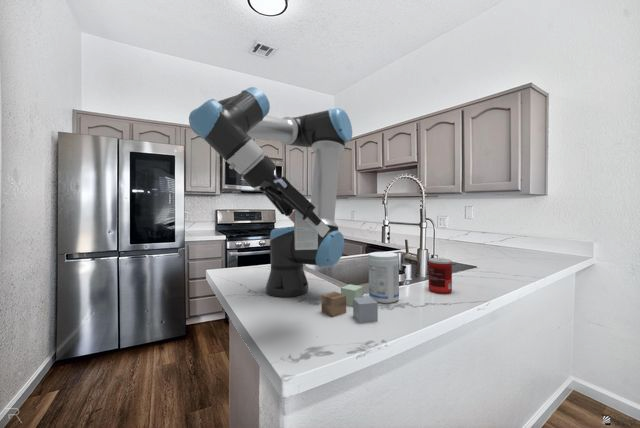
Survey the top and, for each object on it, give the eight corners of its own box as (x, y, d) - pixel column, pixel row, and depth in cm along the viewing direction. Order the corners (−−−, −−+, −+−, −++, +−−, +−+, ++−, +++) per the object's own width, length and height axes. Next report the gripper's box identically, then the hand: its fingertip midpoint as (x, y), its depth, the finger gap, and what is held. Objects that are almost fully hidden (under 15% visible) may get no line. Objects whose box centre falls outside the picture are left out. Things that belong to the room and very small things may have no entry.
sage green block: (341, 303, 87) (340, 287, 87) (349, 299, 91) (349, 284, 91) (355, 307, 84) (354, 290, 84) (363, 302, 88) (362, 286, 88)
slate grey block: (353, 316, 77) (353, 298, 77) (370, 314, 78) (370, 296, 78) (359, 323, 72) (359, 304, 72) (377, 321, 73) (377, 302, 73)
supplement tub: (388, 293, 97) (387, 250, 97) (405, 301, 88) (405, 255, 88) (363, 296, 94) (363, 252, 93) (378, 305, 85) (378, 257, 84)
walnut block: (321, 312, 80) (321, 294, 80) (334, 308, 83) (334, 291, 83) (332, 317, 76) (332, 299, 76) (346, 313, 79) (346, 295, 79)
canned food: (447, 287, 103) (447, 257, 102) (455, 294, 95) (455, 262, 94) (425, 287, 103) (425, 257, 103) (432, 294, 95) (432, 261, 95)
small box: (294, 245, 74) (294, 205, 73) (315, 245, 74) (315, 205, 74) (294, 250, 66) (293, 205, 65) (318, 249, 66) (317, 205, 66)
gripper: (232, 180, 72) (290, 238, 80) (254, 170, 53) (328, 247, 60) (252, 161, 74) (307, 219, 82) (280, 144, 55) (349, 222, 63)
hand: (316, 231), depth 71 cm, fingers closed on small box, 9 cm apart
